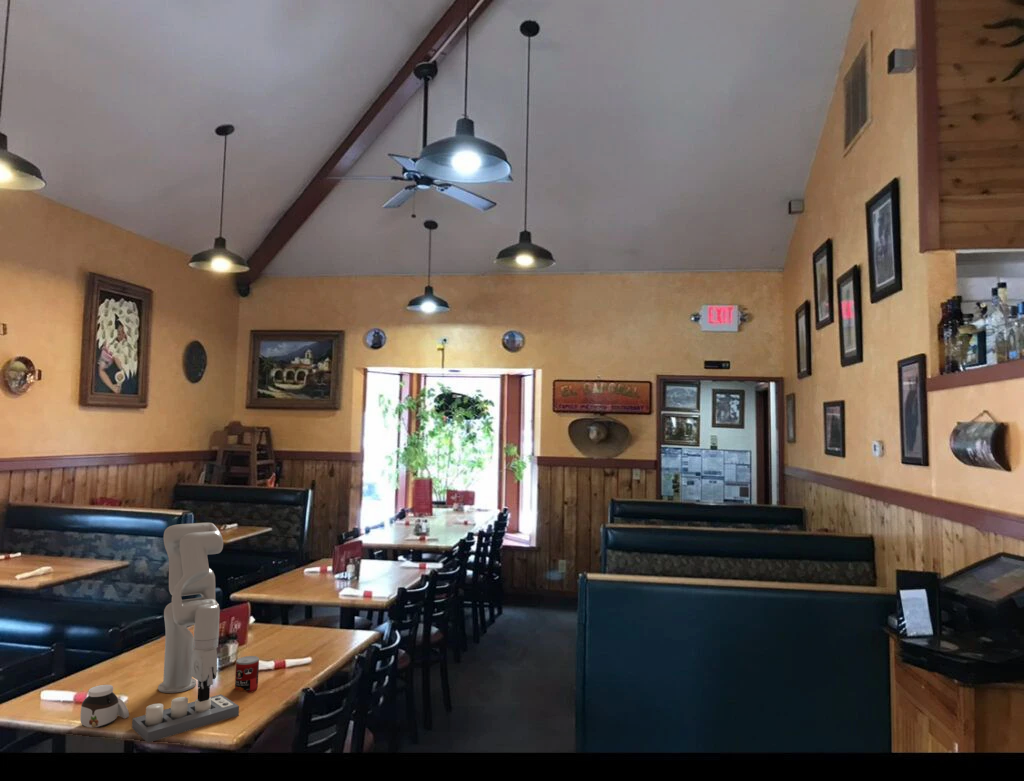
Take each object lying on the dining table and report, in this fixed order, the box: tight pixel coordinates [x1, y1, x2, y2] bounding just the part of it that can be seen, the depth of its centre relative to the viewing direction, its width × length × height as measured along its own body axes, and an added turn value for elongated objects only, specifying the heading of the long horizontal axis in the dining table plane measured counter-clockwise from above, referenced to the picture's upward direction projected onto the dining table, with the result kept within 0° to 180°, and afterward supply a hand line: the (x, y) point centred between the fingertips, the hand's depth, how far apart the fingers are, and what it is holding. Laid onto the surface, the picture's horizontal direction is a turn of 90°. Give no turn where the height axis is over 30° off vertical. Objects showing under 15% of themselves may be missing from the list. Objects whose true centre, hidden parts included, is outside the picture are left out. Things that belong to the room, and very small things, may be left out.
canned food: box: [234, 655, 260, 693], centre depth 246 cm, size 8×8×11 cm
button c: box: [145, 703, 164, 726], centre depth 208 cm, size 5×5×5 cm
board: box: [131, 693, 240, 744], centre depth 215 cm, size 14×28×4 cm, turn 137°
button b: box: [170, 696, 189, 719], centre depth 214 cm, size 5×5×5 cm
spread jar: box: [79, 684, 130, 729], centre depth 216 cm, size 12×11×12 cm
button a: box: [195, 696, 211, 713], centre depth 219 cm, size 5×5×5 cm
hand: (203, 699), depth 219 cm, fingers closed
